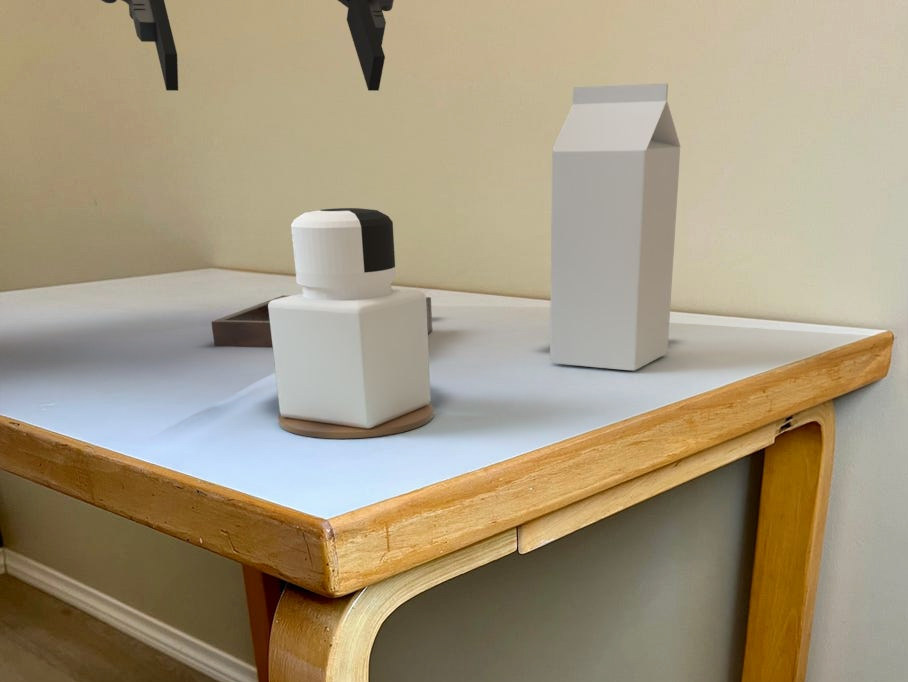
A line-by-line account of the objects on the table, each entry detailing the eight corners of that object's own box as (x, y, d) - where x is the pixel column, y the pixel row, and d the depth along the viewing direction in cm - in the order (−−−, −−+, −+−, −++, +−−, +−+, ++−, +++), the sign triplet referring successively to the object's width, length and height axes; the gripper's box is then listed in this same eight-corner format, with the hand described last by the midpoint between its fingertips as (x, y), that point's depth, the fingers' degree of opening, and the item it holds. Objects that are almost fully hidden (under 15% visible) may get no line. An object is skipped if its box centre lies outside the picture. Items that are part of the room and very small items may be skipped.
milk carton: (635, 373, 75) (649, 82, 66) (549, 365, 78) (552, 86, 70) (667, 355, 81) (684, 84, 72) (586, 349, 84) (593, 88, 75)
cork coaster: (252, 435, 62) (251, 428, 62) (313, 397, 71) (312, 391, 70) (408, 441, 60) (407, 435, 60) (450, 401, 68) (450, 396, 68)
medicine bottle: (345, 394, 69) (329, 204, 64) (433, 404, 66) (424, 206, 61) (278, 418, 64) (254, 213, 58) (369, 431, 61) (353, 215, 55)
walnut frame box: (216, 358, 83) (210, 321, 82) (285, 328, 96) (282, 295, 95) (383, 363, 80) (380, 324, 79) (432, 331, 93) (431, 297, 92)
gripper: (373, -93, 80) (442, 118, 74) (36, -113, 72) (84, 121, 66) (389, -197, 73) (467, 26, 67) (18, -232, 65) (70, 17, 59)
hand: (277, 74), depth 66 cm, fingers open, 13 cm apart
